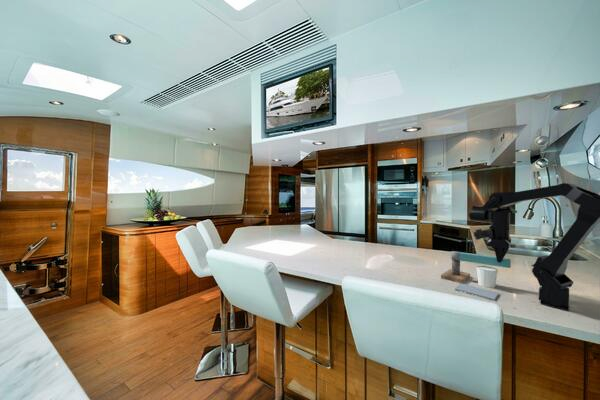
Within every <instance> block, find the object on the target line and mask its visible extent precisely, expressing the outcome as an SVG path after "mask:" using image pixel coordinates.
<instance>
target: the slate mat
mask: <svg viewBox="0 0 600 400" xmlns="http://www.w3.org/2000/svg"><path fill="white" fill-rule="evenodd" d="M454 291H458V292H460V291H462V292H461V293H464V292H466V293H465V294H468V293H471V294H473V295H472V296H475V295H476V296H475V297H479V298H483V299H487V300H490V301H494V302H495V301H496V300H497V298H498V296H499V292H497V291H492V290H490V289H489V290H488V289H485V288H482V287H476V286H473V285H469V284H465V283H459V284H458V286H456V287H455V288H454ZM471 294H470V295H471Z"/></svg>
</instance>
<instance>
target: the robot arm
mask: <svg viewBox="0 0 600 400" xmlns="http://www.w3.org/2000/svg"><path fill="white" fill-rule="evenodd" d="M561 196H562V197H564V198H566V199H568V200H569V201H571V202H573V203H575V204H577V205H579V207H578V210H577V214H576V219H575V220H574V222H573V223H572V224H571V226H570V227H569V229H568V230H567V231H566V232H565V234H564V235H563V237H562V238H561V239H560V241H559V242H558V243H557V245H556V246H555V247H554V249H553V250H552V251H551V252H550V254H549V255H540V256H538V257H537V259H536V260H535V262H534V263H533V264H531V267H532V269H531V273H532V275H533V277H535V278H536V279H537V282H538V284H539V288H538V300H539V303H540V304H541V305H544V306H549V307H553V308H557V309H561V310H564V311H570V288H571V287H572V286H573V284H574V281H573V280H572V279H571V278H569V276H568V275H567V274H565V273H566V271H567V268H568V262H569V260H570V259H571V257H572V256H573V255H574V254H575V252H576V251H577V250H578V249H579V247H581V245H582V244H583V242H584V241H585V240H587V237H588V236H589V235H590V234H591V232H592V231H593V230H594V229H595V228H596V227H597V225H599V224H600V194H599V193H597V192H594V191H591V190H588V189H585V188H583V187H580V186H578V185H577V184H574V183H570V182H566V183H565V182H564V183H559V184H557V185H549V186H544V187H537V188H533V189H526V190H521V191H500V192H498V191H497V192H492V193H491V194H490V195H489V198H488V200H487V201H486V202H485V203H484V205H483V206H480V205H472V208H471V209H470V212H469V213H468V216H469V217H468V218H469V219H470V221H471V222H478V223H479V222H480V223H489V222H490V226H489V228H486V229H481V228H479V229H475V231H473V232H472V233H473V237H474V238H475V240H476V241H477V240H481V239H486V238H488V240H487V242H486V243H487V244H486V245H487V247H491V248H492V249H493V250H494V254H495V257H496V258H497V262H499V263H501V262H502V260H503V258H505V256H506V255H507V253H508V251H509V249H510V247H511V245H510V244H511V243H512V237H511V236H510V234H511V233H510V232H511V225H510V224H511V214H517V213H518V211H517V210H516V209H514V207H513V205H516V204H519V203H522V202H528V201H535V200H541V199H548V198H554V197H557V198H558V197H561ZM503 207H504V208H503ZM505 207H506V208H505ZM494 209H495V210H494Z"/></svg>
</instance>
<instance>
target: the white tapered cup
mask: <svg viewBox="0 0 600 400" xmlns="http://www.w3.org/2000/svg"><path fill="white" fill-rule="evenodd" d="M498 273H499V270H498V269H497V268H495V267H491V266H488V265H478V266H476V274H477V284H478V285H479V286H481V287H484V286H485V288H492V289H493V288H496V285H497V278H498Z"/></svg>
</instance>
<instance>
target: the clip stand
mask: <svg viewBox="0 0 600 400" xmlns="http://www.w3.org/2000/svg"><path fill="white" fill-rule="evenodd" d="M470 277H471V273H470V272H469V273H468V272H465V271H461V261H458V260H453V259H451V268H450V269H448V270H446V271H444V272H443V273H441V275H440V279H443V280H446V281H450V282H456V283H459V284H461V283H462V284H464V283H465V282H466V281H467V280H468V279H470Z"/></svg>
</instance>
